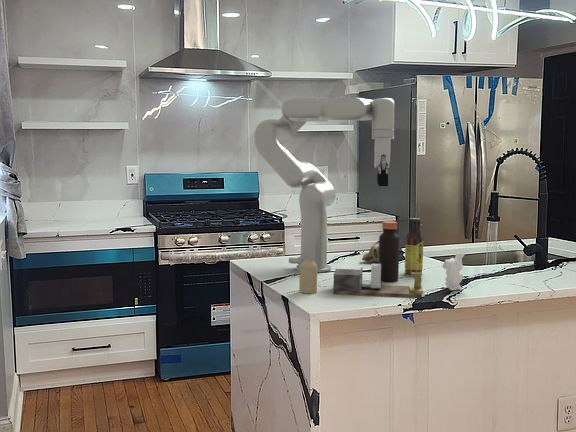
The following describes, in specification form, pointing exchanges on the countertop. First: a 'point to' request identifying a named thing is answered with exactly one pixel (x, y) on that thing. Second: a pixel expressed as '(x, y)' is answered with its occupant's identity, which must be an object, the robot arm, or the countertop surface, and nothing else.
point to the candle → (308, 277)
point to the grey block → (374, 277)
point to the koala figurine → (454, 272)
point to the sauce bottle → (414, 248)
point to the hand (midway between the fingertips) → (382, 185)
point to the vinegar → (389, 252)
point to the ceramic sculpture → (372, 253)
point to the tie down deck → (352, 282)
